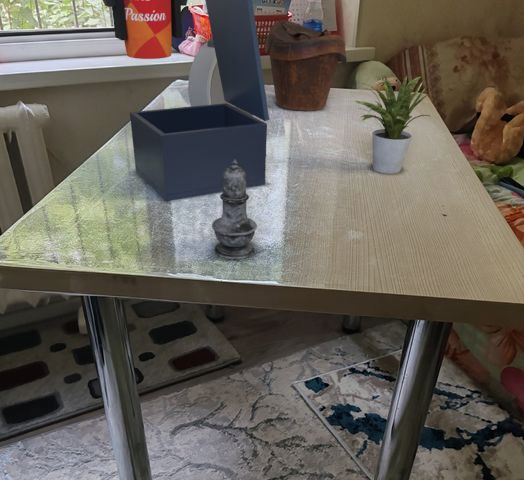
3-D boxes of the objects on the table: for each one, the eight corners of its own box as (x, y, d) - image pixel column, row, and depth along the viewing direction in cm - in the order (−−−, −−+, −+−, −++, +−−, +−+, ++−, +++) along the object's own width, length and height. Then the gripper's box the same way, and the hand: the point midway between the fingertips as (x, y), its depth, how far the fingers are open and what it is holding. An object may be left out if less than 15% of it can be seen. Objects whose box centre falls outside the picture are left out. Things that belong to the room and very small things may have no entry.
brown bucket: (339, 116, 131) (349, 31, 121) (257, 110, 133) (260, 26, 123) (342, 100, 146) (351, 22, 135) (268, 95, 148) (271, 18, 137)
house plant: (366, 150, 110) (379, 60, 101) (433, 163, 105) (454, 69, 95) (336, 169, 101) (347, 71, 91) (408, 185, 95) (428, 82, 85)
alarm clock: (227, 121, 125) (226, 29, 114) (264, 129, 120) (267, 34, 109) (180, 136, 114) (174, 36, 103) (218, 146, 109) (217, 43, 98)
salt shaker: (218, 238, 75) (216, 150, 68) (260, 243, 75) (262, 154, 68) (207, 257, 71) (204, 164, 64) (252, 262, 70) (254, 169, 63)
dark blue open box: (166, 200, 86) (161, 135, 80) (135, 171, 96) (129, 112, 90) (265, 184, 93) (267, 123, 87) (227, 159, 103) (226, 102, 97)
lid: (244, -18, 74) (283, -29, 76) (200, -24, 84) (235, -34, 86) (265, 121, 87) (298, 109, 88) (224, 101, 97) (254, 90, 99)
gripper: (30, -255, 48) (77, 45, 61) (230, -222, 55) (232, 38, 69) (17, -236, 53) (63, 36, 67) (202, -209, 60) (208, 31, 74)
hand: (149, 37), depth 68 cm, fingers closed on paper cup, 6 cm apart
